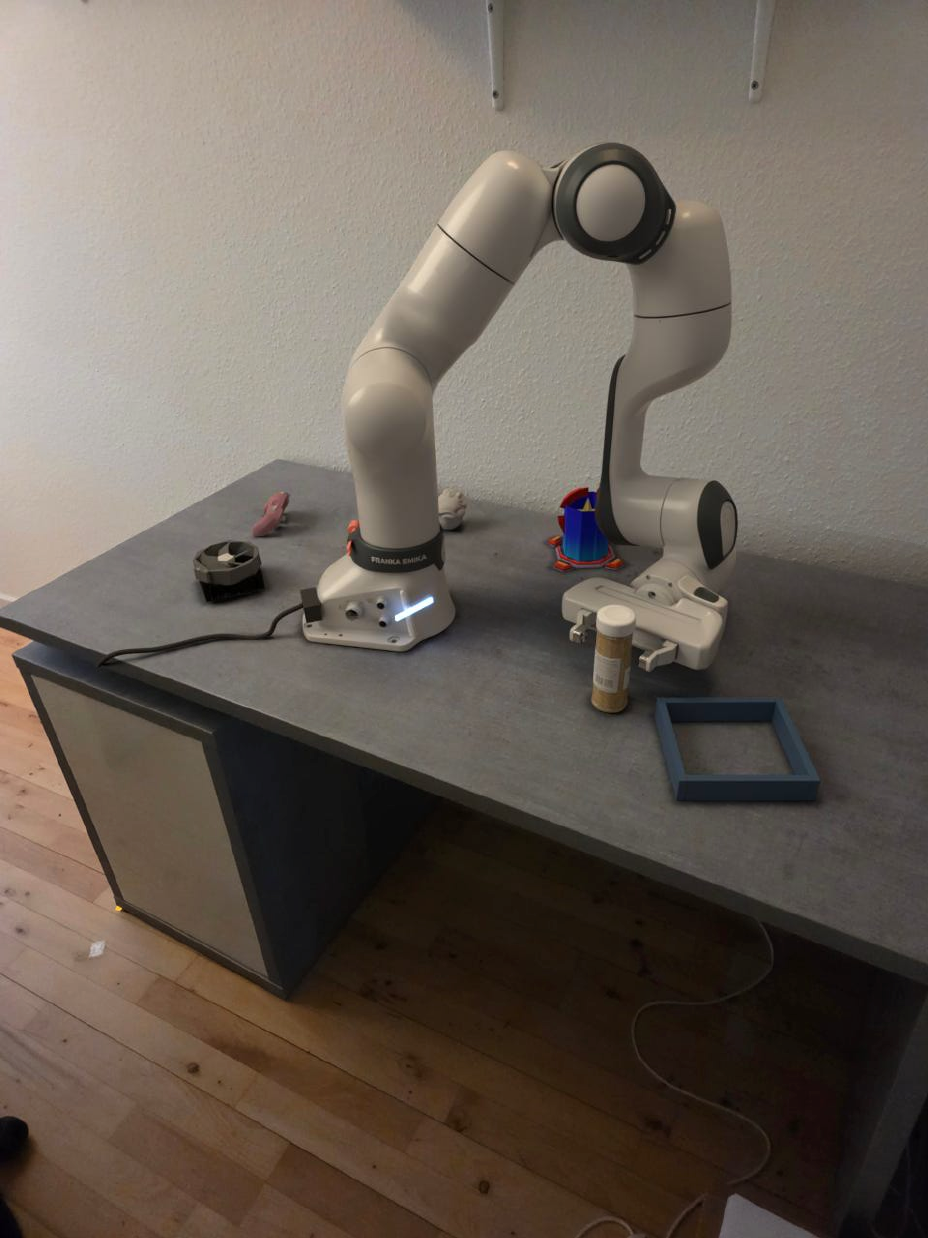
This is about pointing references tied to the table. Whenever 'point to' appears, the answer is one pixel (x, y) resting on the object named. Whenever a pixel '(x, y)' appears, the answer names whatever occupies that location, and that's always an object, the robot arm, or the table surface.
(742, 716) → the square frame
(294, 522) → the table surface
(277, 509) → the pink lumpy piece
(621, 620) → the sprinkles bottle
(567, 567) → the fantasy tower
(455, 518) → the frog figurine
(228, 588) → the cpu cooler
